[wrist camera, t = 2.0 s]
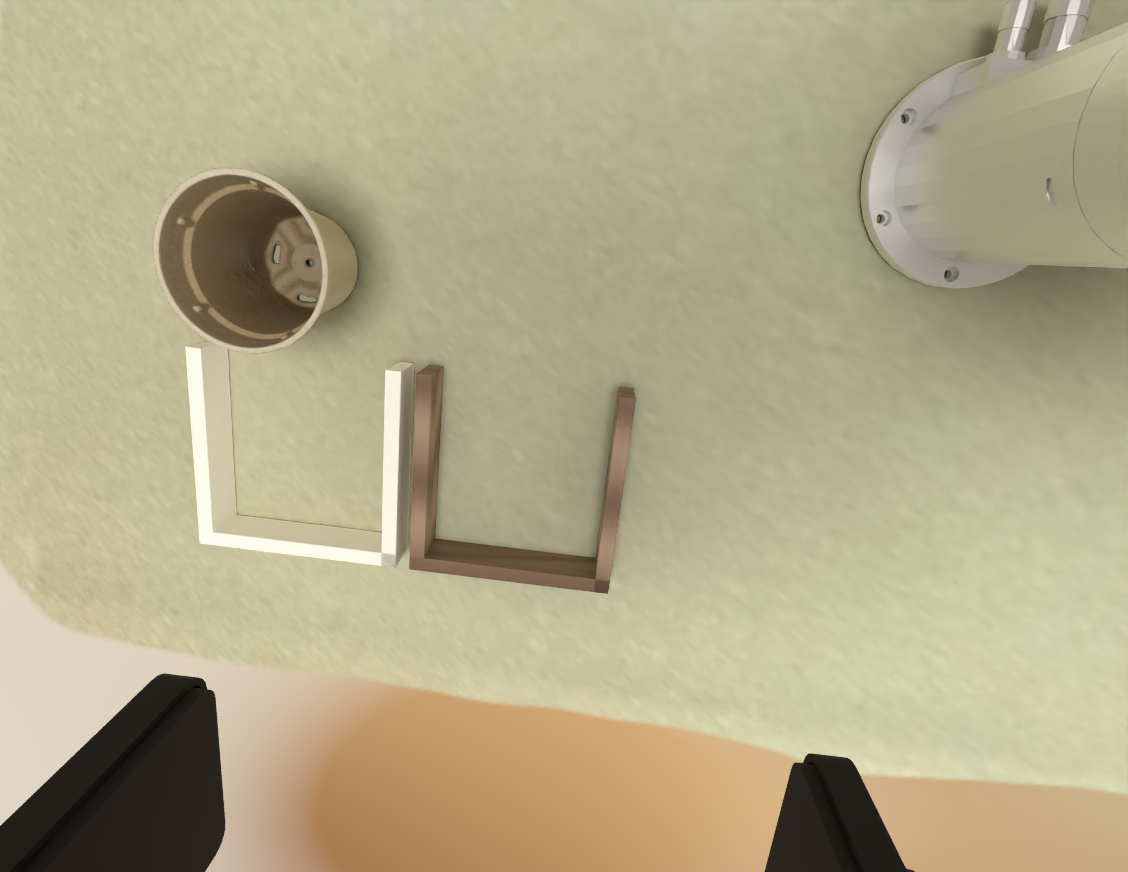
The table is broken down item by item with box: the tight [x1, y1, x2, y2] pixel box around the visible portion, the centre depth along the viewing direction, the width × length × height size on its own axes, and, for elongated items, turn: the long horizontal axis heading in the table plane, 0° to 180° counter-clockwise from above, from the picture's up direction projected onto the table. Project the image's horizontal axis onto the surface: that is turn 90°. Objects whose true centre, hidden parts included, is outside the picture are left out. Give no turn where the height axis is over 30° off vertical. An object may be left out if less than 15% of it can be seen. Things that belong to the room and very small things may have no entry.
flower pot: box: [153, 168, 358, 354], centre depth 37 cm, size 9×9×9 cm
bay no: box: [409, 365, 636, 594], centre depth 43 cm, size 14×14×3 cm
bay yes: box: [185, 341, 414, 567], centre depth 43 cm, size 14×14×3 cm
